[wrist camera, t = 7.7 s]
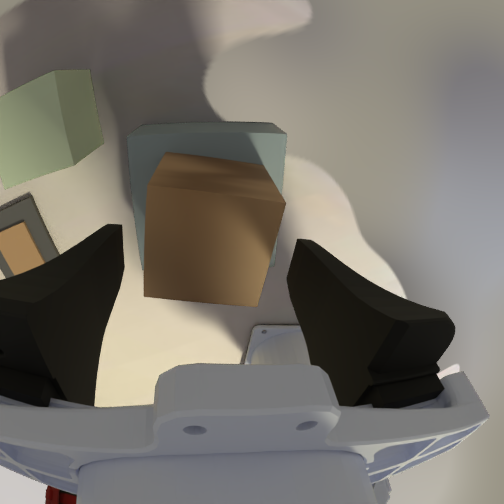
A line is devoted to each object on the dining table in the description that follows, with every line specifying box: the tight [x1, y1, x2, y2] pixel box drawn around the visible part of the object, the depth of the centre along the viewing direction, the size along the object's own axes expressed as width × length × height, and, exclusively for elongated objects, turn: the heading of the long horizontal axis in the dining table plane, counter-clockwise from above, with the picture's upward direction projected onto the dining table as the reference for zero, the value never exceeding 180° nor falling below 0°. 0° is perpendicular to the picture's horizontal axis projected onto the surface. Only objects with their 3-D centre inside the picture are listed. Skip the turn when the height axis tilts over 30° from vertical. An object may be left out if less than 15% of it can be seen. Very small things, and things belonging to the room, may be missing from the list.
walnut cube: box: [144, 152, 286, 307], centre depth 14 cm, size 5×5×5 cm
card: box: [0, 196, 60, 278], centre depth 19 cm, size 7×7×1 cm
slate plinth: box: [127, 121, 287, 270], centre depth 18 cm, size 8×8×4 cm
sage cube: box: [0, 70, 104, 189], centre depth 13 cm, size 5×5×5 cm
